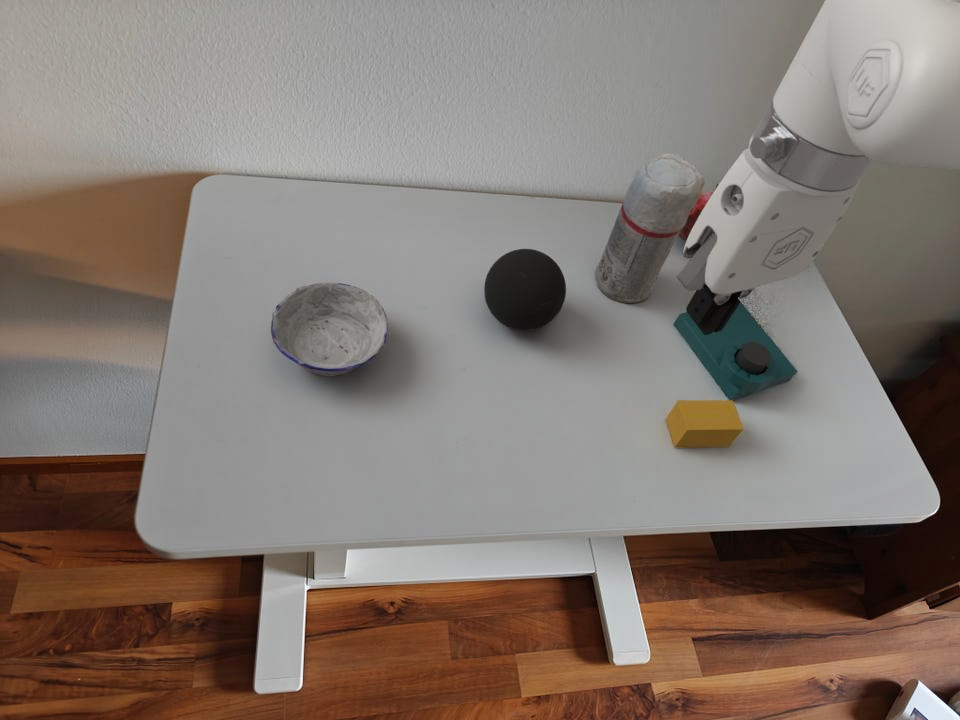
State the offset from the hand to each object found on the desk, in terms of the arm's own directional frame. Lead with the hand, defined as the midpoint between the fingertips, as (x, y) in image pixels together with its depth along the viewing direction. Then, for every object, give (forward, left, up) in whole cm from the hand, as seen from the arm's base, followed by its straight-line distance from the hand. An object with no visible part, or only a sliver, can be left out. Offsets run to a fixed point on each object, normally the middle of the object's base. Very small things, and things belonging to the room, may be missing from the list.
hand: (702, 320), depth 63 cm
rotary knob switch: (+9, -24, -25) cm, 36 cm away
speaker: (+23, +1, -25) cm, 34 cm away
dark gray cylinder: (+5, -22, -21) cm, 31 cm away
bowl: (+25, +25, -25) cm, 43 cm away
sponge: (0, -12, -25) cm, 28 cm away
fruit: (+28, -32, -25) cm, 49 cm away
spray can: (+24, -16, -25) cm, 38 cm away
